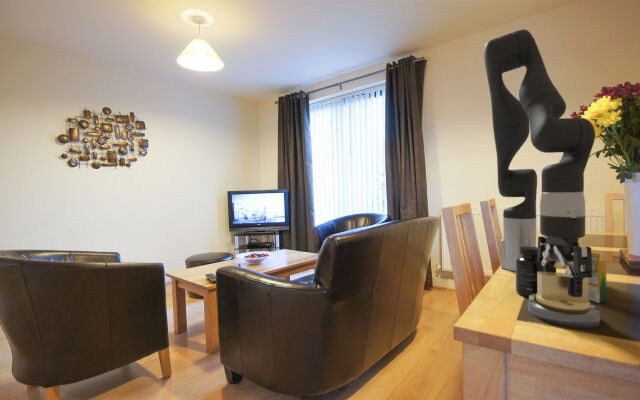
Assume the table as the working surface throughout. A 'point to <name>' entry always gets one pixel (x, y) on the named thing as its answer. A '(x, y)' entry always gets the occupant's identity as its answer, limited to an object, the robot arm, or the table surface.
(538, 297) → the knob
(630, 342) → the table surface
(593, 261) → the crayon box
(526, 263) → the supplement bottle
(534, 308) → the base
